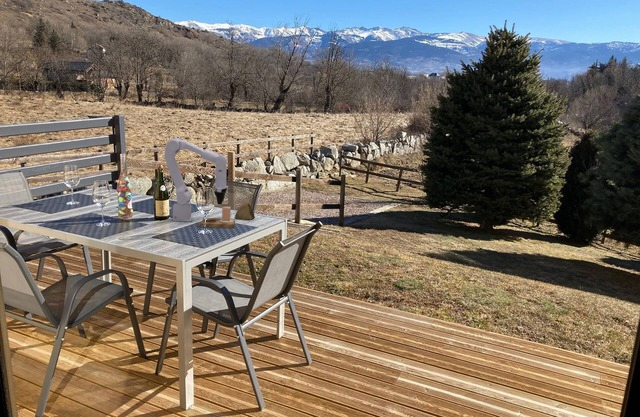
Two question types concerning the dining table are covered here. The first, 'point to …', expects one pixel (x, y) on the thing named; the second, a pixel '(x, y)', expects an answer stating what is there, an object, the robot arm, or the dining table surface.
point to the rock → (245, 212)
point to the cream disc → (227, 221)
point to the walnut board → (216, 223)
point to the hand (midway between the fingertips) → (220, 202)
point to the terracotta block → (226, 213)
